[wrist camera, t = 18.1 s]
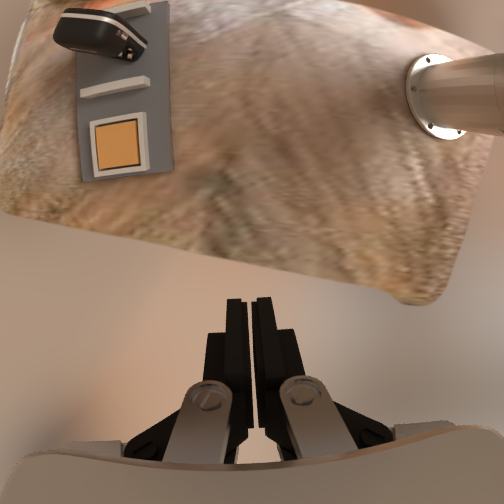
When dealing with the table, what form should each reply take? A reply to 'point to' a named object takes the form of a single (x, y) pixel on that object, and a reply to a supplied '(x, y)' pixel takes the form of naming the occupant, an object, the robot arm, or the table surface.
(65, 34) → the battery charger
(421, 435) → the robot arm
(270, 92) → the table surface
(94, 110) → the charging dock
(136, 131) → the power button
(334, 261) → the table surface
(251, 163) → the table surface
